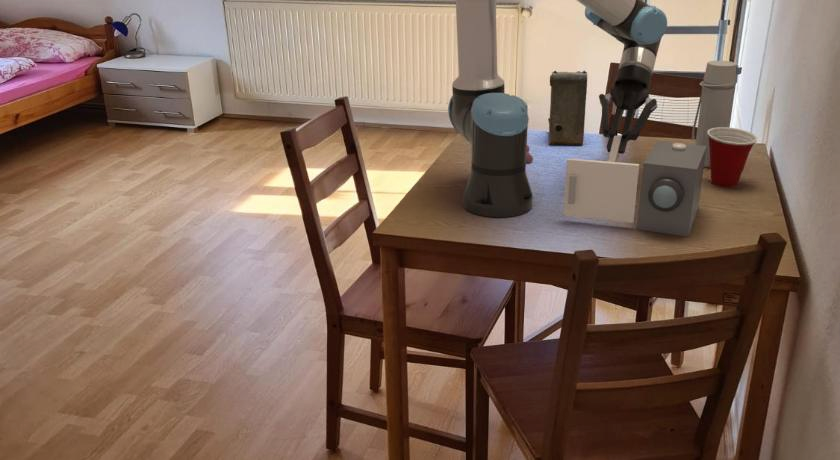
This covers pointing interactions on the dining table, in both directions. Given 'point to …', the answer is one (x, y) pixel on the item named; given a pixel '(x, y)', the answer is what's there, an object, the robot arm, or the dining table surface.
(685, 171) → the camera housing
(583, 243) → the dining table surface
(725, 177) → the plastic cup
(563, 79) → the vintage camera
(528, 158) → the video game controller
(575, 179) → the side door
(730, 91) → the water bottle
